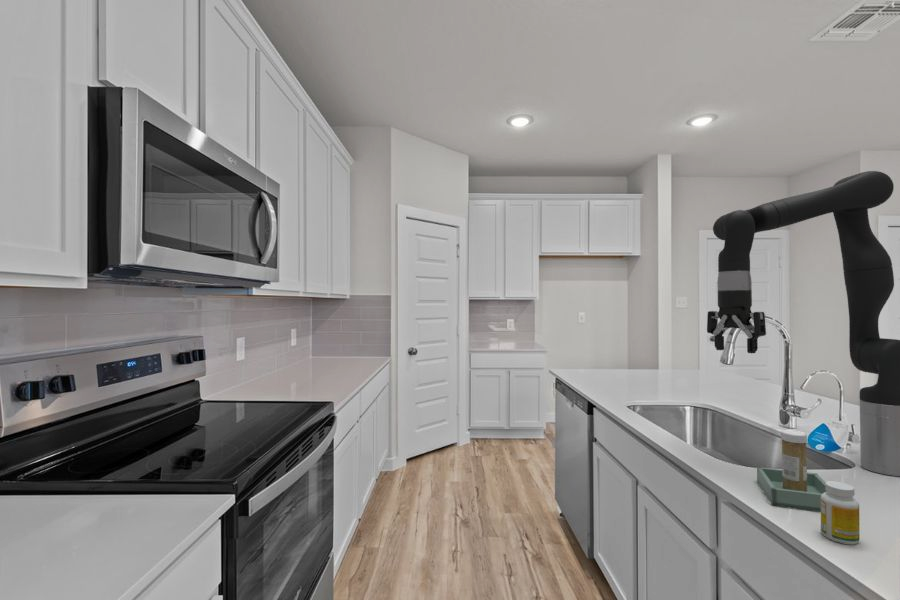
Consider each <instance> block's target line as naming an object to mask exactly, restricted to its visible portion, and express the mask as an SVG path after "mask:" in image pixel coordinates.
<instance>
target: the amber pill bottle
mask: <svg viewBox="0 0 900 600" xmlns="http://www.w3.org/2000/svg"><path fill="white" fill-rule="evenodd" d="M780 439H781V442H782V443H781V470H782V476H783V487H782V489H787V490H796V491H804V492H807V473H808V469H807V465H808V464H807V442H808V435H807V433H806V432H803V431H801V430H800V431H799V430H795V429H782V430H781V431H780Z"/></svg>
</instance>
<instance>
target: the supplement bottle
mask: <svg viewBox="0 0 900 600" xmlns="http://www.w3.org/2000/svg"><path fill="white" fill-rule="evenodd" d="M825 482H826V483H825V489H826V491H827V492H825V493H823V494H822V495H821V512H820V533H821V535H823V536H824V538H826V539H828V540H830V541H832V542H836V543H840V544H844V545H852V546H853V545H857V544H859V542H860V539H861V538H860V535H861V534H860V502H859V501H858V500H857V499H856V498H855V497H854V496H855V495H856V494H855V487H854V486H853V485H850V484H848V483H846V482H842V481H835V480H831V481H830V480H829V481H825Z"/></svg>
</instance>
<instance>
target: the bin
mask: <svg viewBox="0 0 900 600" xmlns="http://www.w3.org/2000/svg"><path fill="white" fill-rule="evenodd" d="M756 481H757V484H758V485H759V486H760V488H761V490H762V492H763V491H764V492H763V493H764V495H765V496H766V498H767V500H768V501H769V503H770V504H771V506H774V507H782V508H787V507H790V508H789V509H794V508H796V510H804V511H811V512H817V513H821V495H822V494H823V493H825V492H827V491H826V489H825V483H826V482H827V481H825V480H824V479H823V478H822V477H821V476H820V475H819V474H818V473H815V472H807V492H804V491H796V490H787V489H782V487H783V476H782V469H777V468H769V467H761V466H757V467H756Z"/></svg>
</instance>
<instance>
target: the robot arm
mask: <svg viewBox="0 0 900 600" xmlns="http://www.w3.org/2000/svg"><path fill="white" fill-rule="evenodd" d="M894 186H895V185H894V182H893V179H892V178H891V177H890V176H889V175H888V174H886V173H884V172H882V171H879V170H868V171H867V170H866V171H863V172H859V173H856V174H853V175H850V176H846V177H844V178H842V179H841V178H840V179H839V180H838V181H836V182H835V183H834V185H832V186H829V187H825V188H821V189H817V190H815V191H810V192H806V193H801V194H797V195H792V196H788V197H785V198H781V199H776V200H772V201H770V202H765V203H762V204H760V205H757V206H754V207H752V208H749V209H743V210H742V209H737V210H733V211H731V212H728V213H726V214H723V215H721V216H719V218H717V219H716V220H715V222H714V224H713V226H712V231H713V234H714V236H715V237H716V238H717V239H719V240H721V241H724V245H723V248H722V250H720V252H719V254H718V257H717V261H718V263H717V267H718V270H717V271H718V274H717V282H716V283H717V288H716V289H717V307H718V308H719V309H718V311H717V310H716V311H715V310H710V311H707V316H706V318H707V323H706V325H707V326H706V332H707V334H711V335H713V336H714V348H715V350H716V351H724V350H725V336H724V334H725V333H726V331H727V330H729V329H740V331H742V332H743V333H744V334H745V335H746V337H747V338H746V344H747V346H746V347H747V349H746V350H747V351H746V352H747V353H748V354H756V352H757V351H758V349H759V348H758V339H759V338H760V337H765V336H766V335H767V329H766V326H767V325H766V315H765V312H764V311H754V312H753V311H752V310H751V309H752V306H753V297H752V293H753V291H752V286H753V285H752V283H753V282H752V275H751V257H750V254H751V250H752V247H753V243H754V238H755V234H757V233H761V232H766V231H771V230H775V229H776V230H777V229H780V228H783V227H784V228H785V227H787V226H790V225H793V224H799V223H801V222H804V221H807V220H811V219H813V218H817V217H820V216H824V215H827V214H831V213H832V214H833V218H834V222H835V225H836V228H837V233H838V238H839V239H838V241H839V246H840V252H841V259H842V269H843V270H842V271H843V278H844V285H845V291H846V297H847V308H848V318H849V319H848V320H849V327H848V328H849V329H848V330H849V331H848V332H849V337H848V339H849V341H848V342H849V343H848V345H849V346H848V347H849V349H848V350H849V357H850V360H851V363H852V364H853V367H855V369H857V370H858V371H860V372H863V373H869V374H876V375H877V381H876V383H875V384H874V385H871V386H864V387H862V388H860V390H859V393H858V395H859V441H860V447H859V451H860V454H859V455H860V467H862V468H863V469H865V470H868V471H871V472H874V473H876V474H877V473H878V474H883V475H888V476H894V477H900V339H896V338H882V337H881V336H880V331H879V330H880V329H879V320H880V319H879V317H880V315H881V312H882V311H883V308H884V306H886V304H887V302H888V301H889V299H890V297H891V294H892V293H893V291H894V287H895V279H894V278H895V276H894V269H893V263H892V259H891V257H890V255H889V253H888V251H887V250H886V248H885V247H884V246H883V245H882V244H881V242H880V240H878V238H877V237H876V236H875V234H874V233H873V231H872V228H871V225H870V218H869V209H873V208H876V207H879V206H880V205H882V204H884V203H885V202H887V201H888V200H889V199H890V198H891V196H893V192H894V188H895V187H894ZM718 319H719V320H718ZM751 320H752V321H753V323H752V322H751ZM718 321H719V322H718Z"/></svg>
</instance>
